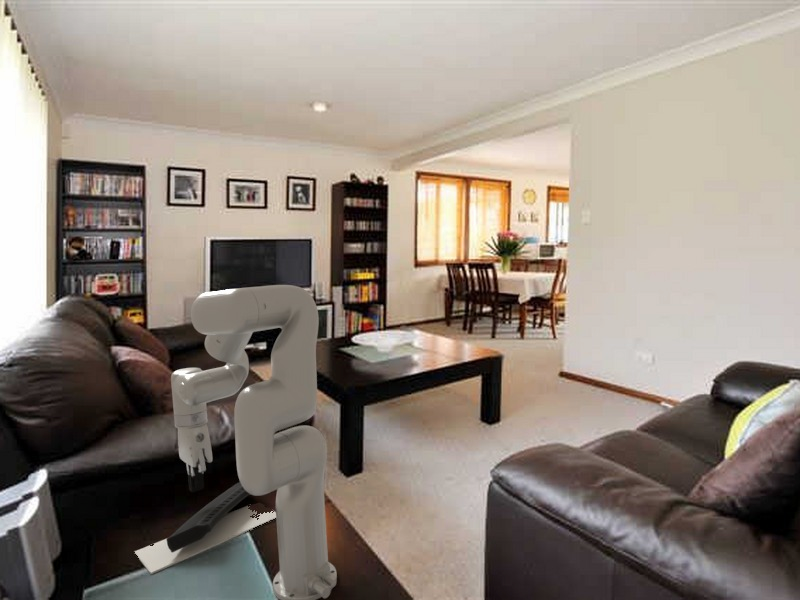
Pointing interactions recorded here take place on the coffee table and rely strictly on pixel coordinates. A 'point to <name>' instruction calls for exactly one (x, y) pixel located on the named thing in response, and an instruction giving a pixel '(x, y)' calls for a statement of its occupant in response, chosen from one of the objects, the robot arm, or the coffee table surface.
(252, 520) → the felt mat
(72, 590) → the coffee table surface
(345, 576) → the coffee table surface
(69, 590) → the coffee table surface
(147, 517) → the coffee table surface
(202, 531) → the magazine
